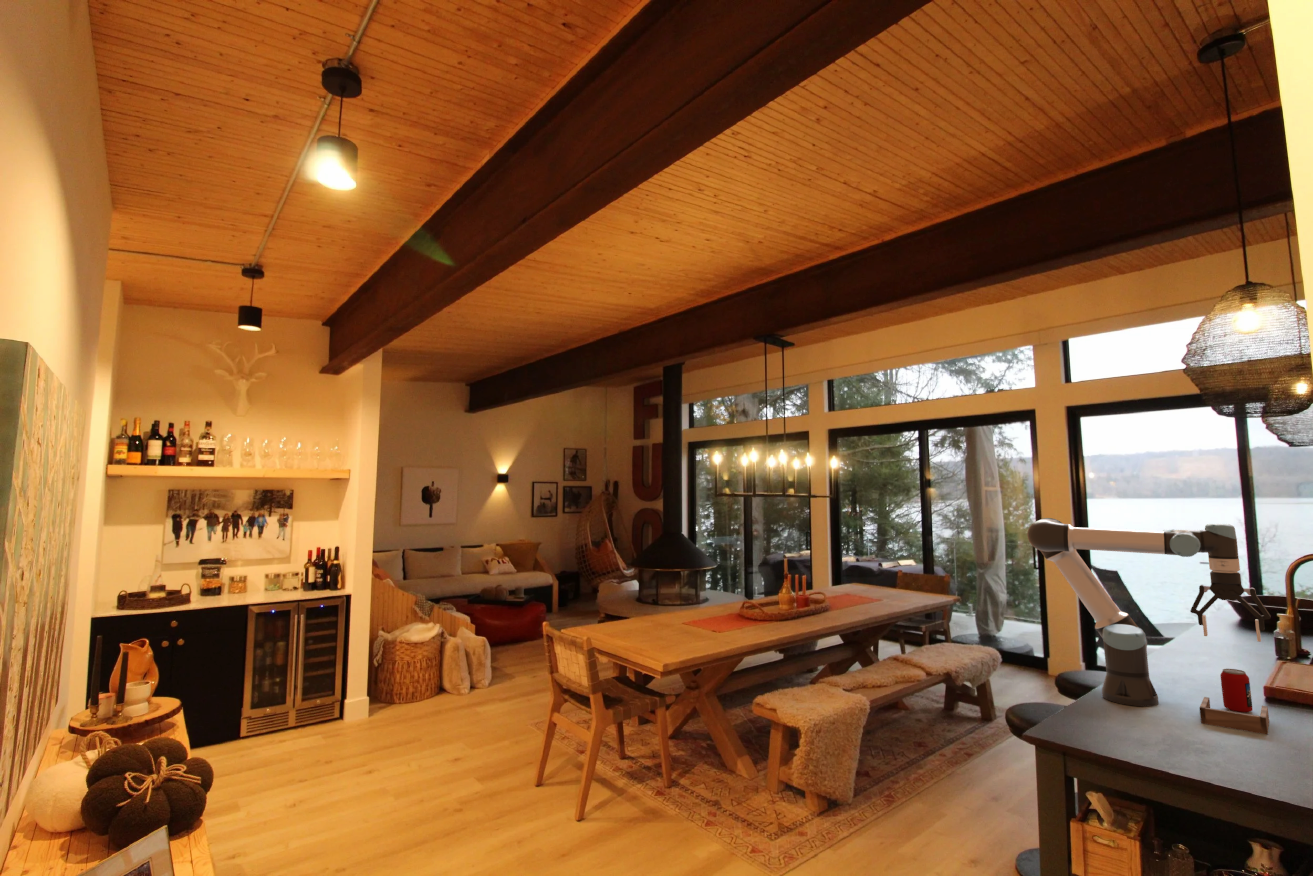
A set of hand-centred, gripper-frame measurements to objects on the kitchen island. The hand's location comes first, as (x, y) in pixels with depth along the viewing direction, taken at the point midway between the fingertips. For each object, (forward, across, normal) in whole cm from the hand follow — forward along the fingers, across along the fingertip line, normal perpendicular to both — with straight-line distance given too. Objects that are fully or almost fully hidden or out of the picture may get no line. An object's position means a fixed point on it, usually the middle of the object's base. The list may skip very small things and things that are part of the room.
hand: (1231, 638), depth 209 cm
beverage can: (+21, 0, -10) cm, 23 cm away
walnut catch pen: (+20, 0, -23) cm, 31 cm away
